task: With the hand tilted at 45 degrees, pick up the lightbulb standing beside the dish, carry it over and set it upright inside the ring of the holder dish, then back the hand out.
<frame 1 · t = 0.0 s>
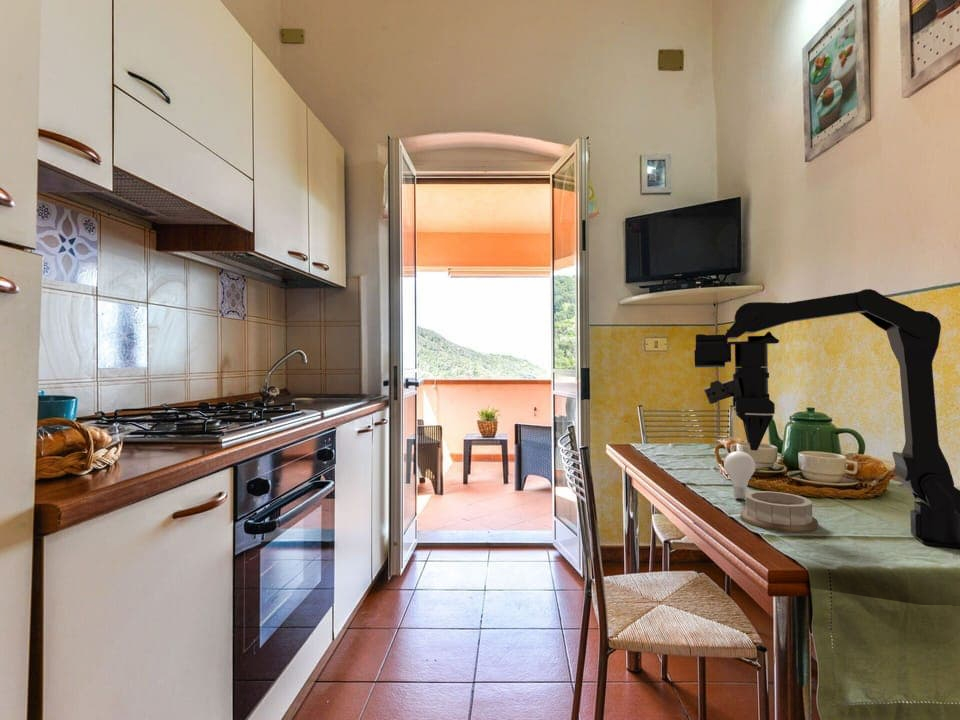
hand: (752, 446, 98), 15 cm above the table, tool pointing down, fingers open, 9 cm apart
holder: (777, 521, 98), on the table
lightbulb: (740, 500, 114), on the table
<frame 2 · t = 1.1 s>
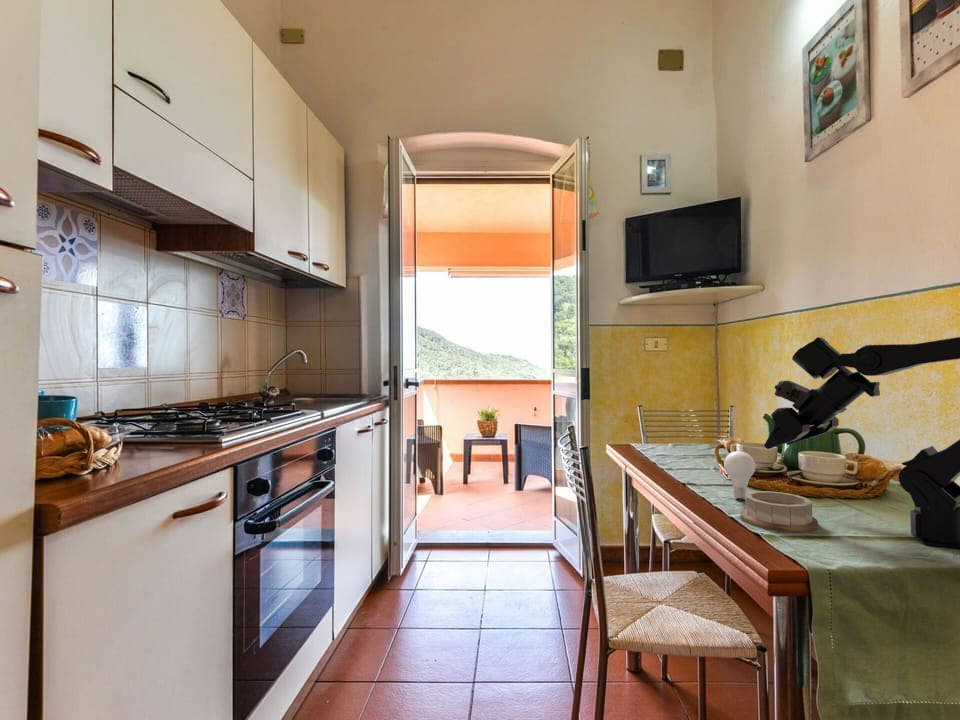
hand: (776, 445, 107), 13 cm above the table, tool tilted 45°, fingers open, 9 cm apart
nothing on the table moved.
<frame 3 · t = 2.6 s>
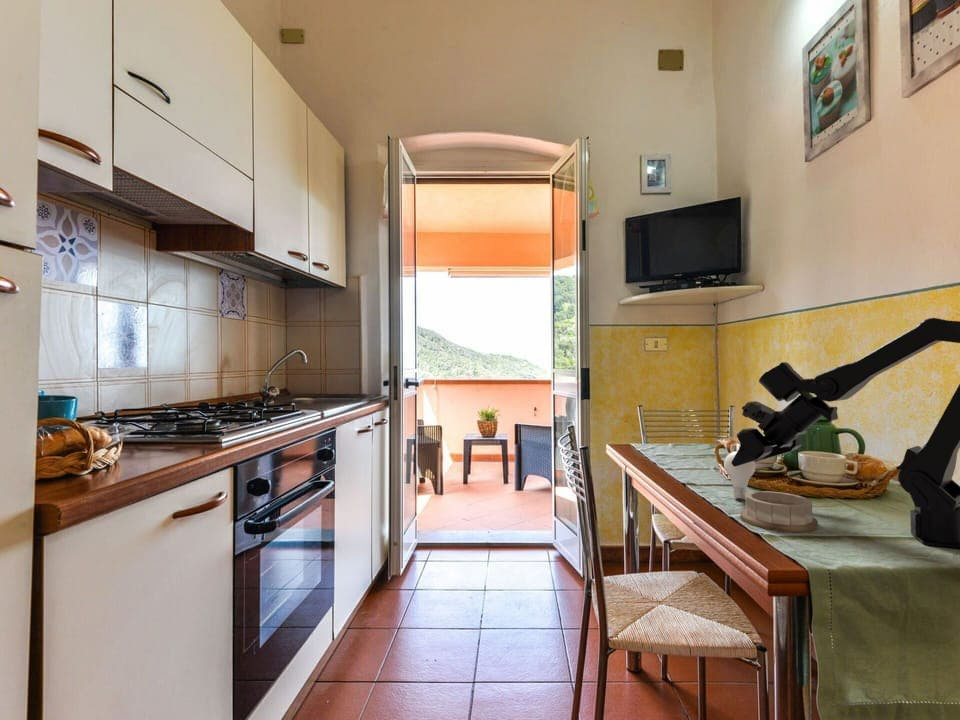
hand: (743, 462, 113), 9 cm above the table, tool tilted 45°, fingers open, 9 cm apart
nothing on the table moved.
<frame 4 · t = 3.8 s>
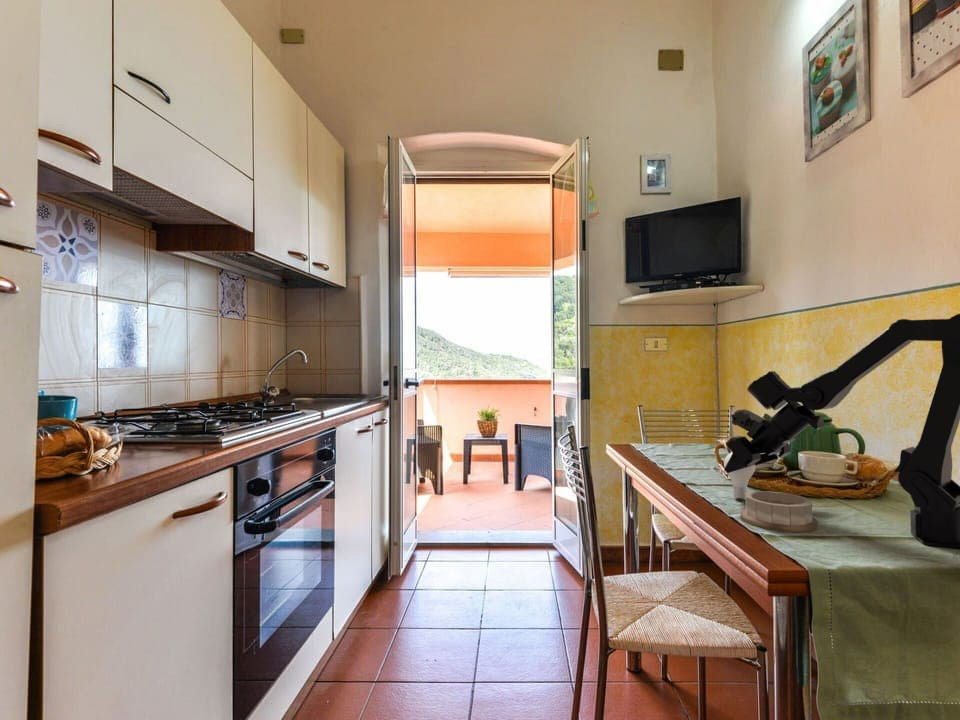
hand: (733, 469, 115), 7 cm above the table, tool tilted 45°, fingers closed on lightbulb, 6 cm apart
lightbulb: (739, 500, 114), on the table, touching gripper
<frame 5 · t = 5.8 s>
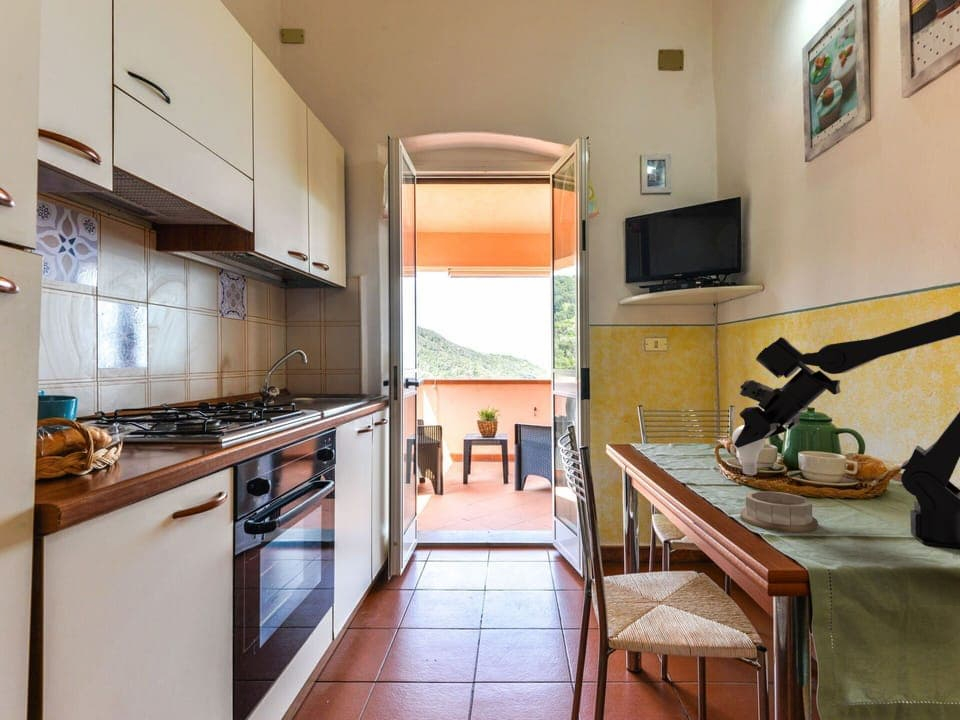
hand: (742, 444, 109), 13 cm above the table, tool tilted 45°, fingers closed on lightbulb, 6 cm apart
lightbulb: (749, 476, 108), point 7 cm above the table, touching gripper
when the fingers open (9 cm above the table, at t = 8.1 s): lightbulb drops 1 cm, resting on holder.
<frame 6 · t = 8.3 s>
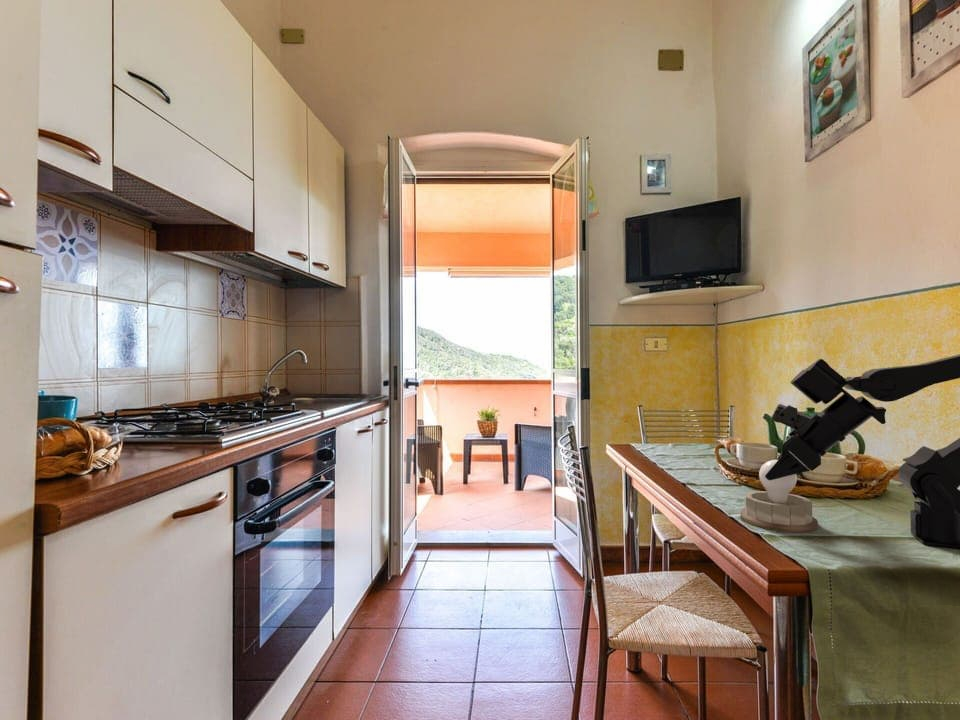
hand: (769, 474, 99), 9 cm above the table, tool tilted 45°, fingers open, 8 cm apart
lightbulb: (778, 517, 98), point 1 cm above the table, touching holder
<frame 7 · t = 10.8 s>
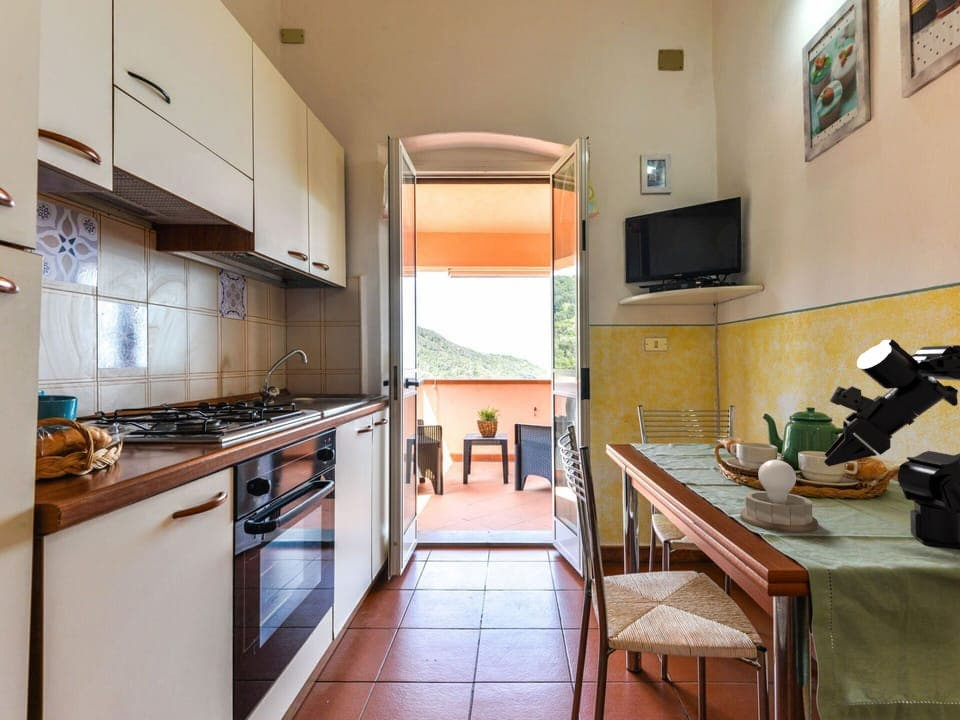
hand: (826, 460, 93), 13 cm above the table, tool tilted 45°, fingers open, 9 cm apart
nothing on the table moved.
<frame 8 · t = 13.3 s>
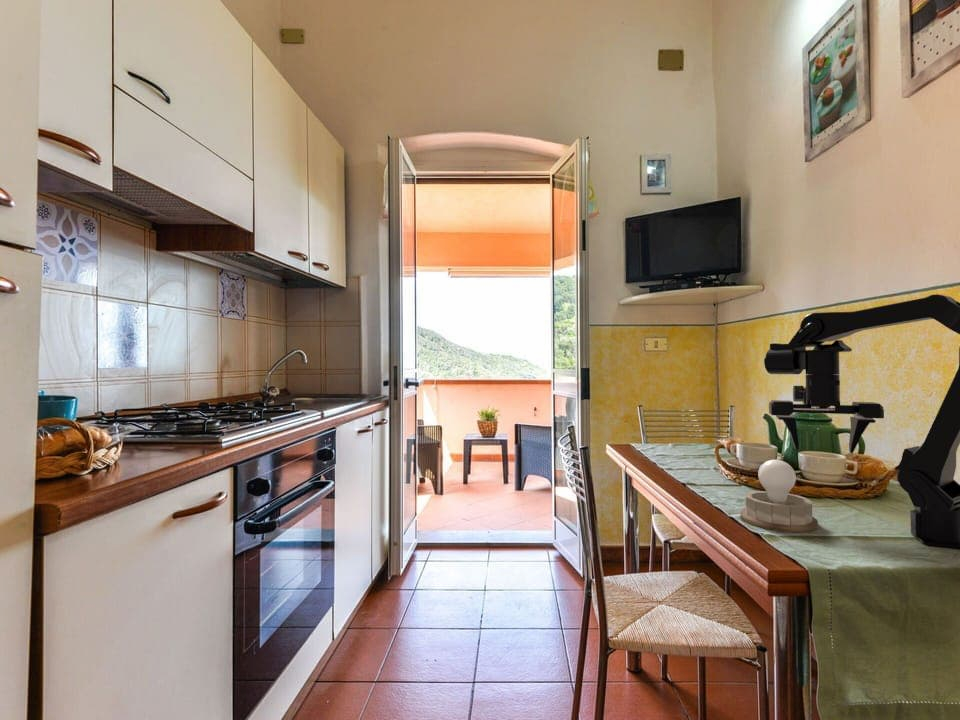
hand: (823, 451, 101), 13 cm above the table, tool pointing down, fingers open, 9 cm apart
nothing on the table moved.
at the end: lightbulb 0.0 cm off-centre on the holder, point 0.8 cm above the holder's base; lightbulb tilted 1°; the gripper is holding nothing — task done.
